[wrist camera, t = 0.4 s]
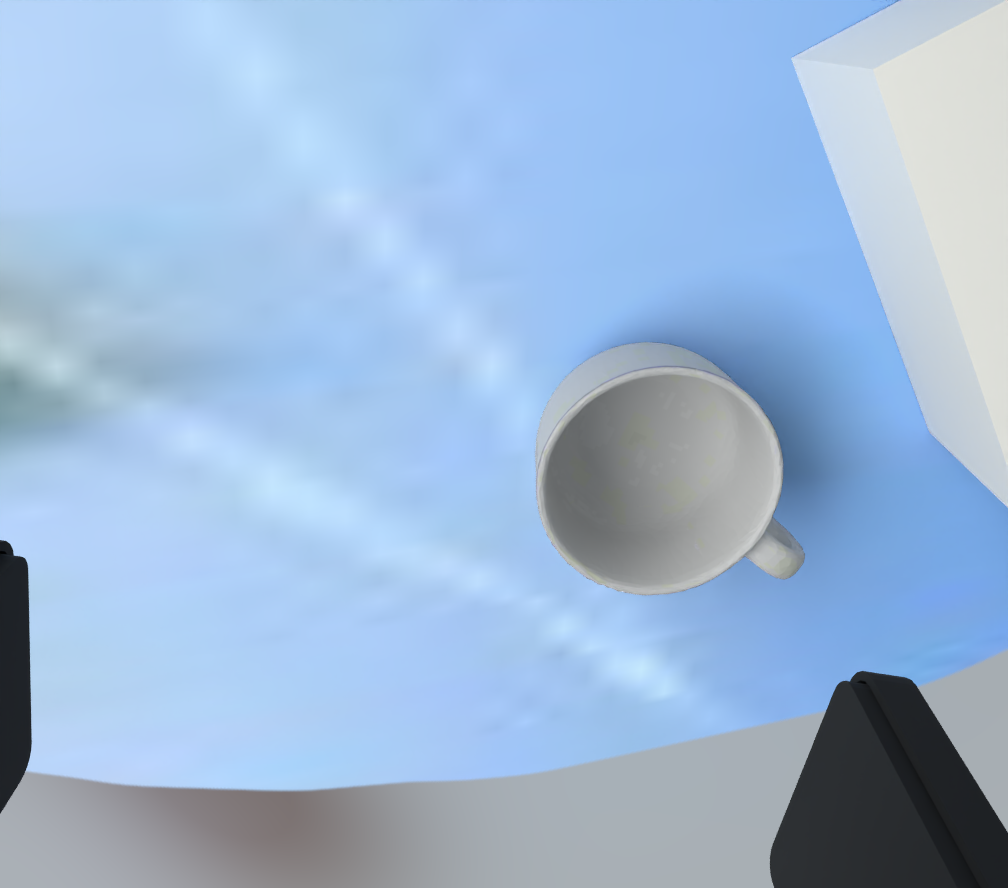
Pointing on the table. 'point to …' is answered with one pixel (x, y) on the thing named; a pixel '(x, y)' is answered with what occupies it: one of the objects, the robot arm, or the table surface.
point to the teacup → (659, 473)
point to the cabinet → (930, 201)
